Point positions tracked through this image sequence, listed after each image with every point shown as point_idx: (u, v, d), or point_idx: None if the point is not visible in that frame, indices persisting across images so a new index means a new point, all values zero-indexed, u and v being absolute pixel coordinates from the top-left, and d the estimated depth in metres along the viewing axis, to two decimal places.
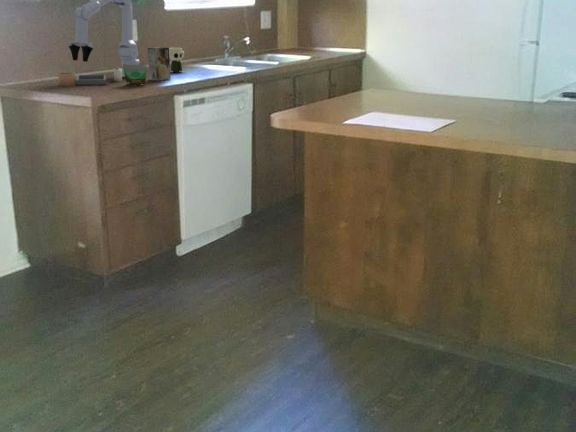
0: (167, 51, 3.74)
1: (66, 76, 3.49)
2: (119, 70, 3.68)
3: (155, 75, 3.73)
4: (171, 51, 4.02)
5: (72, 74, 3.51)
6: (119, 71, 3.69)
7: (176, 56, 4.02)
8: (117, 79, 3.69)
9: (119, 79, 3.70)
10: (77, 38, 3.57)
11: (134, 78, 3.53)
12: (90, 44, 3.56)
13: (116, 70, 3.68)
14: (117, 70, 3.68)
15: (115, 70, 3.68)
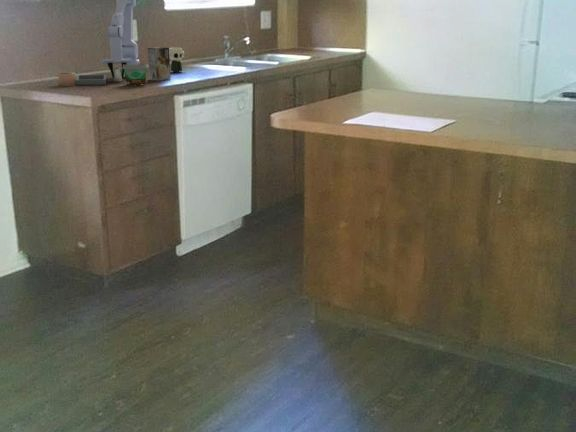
0: (167, 51, 3.74)
1: (66, 76, 3.49)
2: (119, 70, 3.68)
3: (155, 75, 3.73)
4: (171, 51, 4.02)
5: (72, 74, 3.51)
6: (119, 71, 3.69)
7: (176, 56, 4.02)
8: (117, 79, 3.69)
9: (119, 79, 3.70)
10: (117, 57, 3.65)
11: (134, 78, 3.53)
12: (131, 61, 3.70)
13: (116, 70, 3.68)
14: (117, 70, 3.68)
15: (115, 70, 3.68)
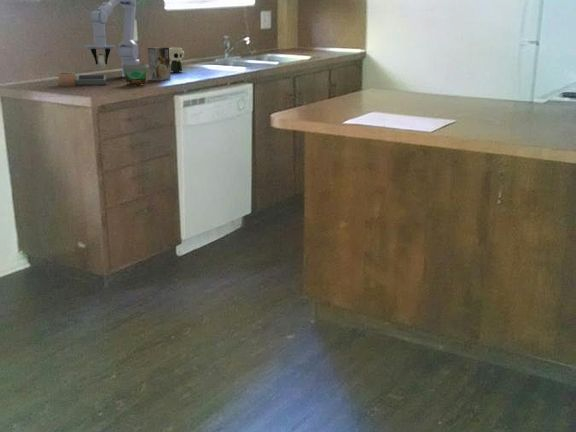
0: (167, 51, 3.74)
1: (66, 76, 3.49)
2: (103, 56, 3.63)
3: (155, 75, 3.73)
4: (171, 51, 4.02)
5: (72, 74, 3.51)
6: (103, 57, 3.63)
7: (176, 56, 4.02)
8: (101, 65, 3.64)
9: (103, 65, 3.64)
10: (101, 42, 3.60)
11: (134, 78, 3.53)
12: None
13: (99, 56, 3.63)
14: (101, 56, 3.63)
15: (98, 56, 3.63)
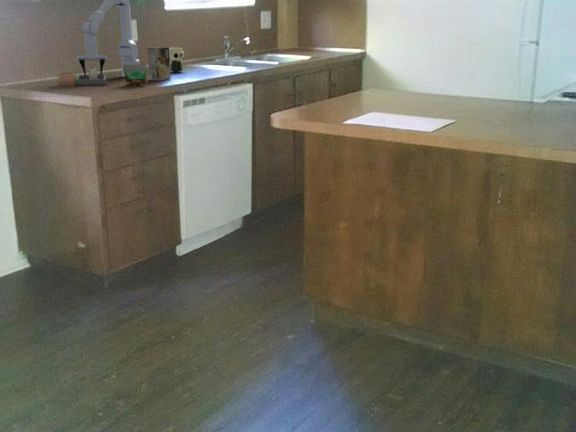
0: (167, 51, 3.74)
1: (66, 76, 3.49)
2: (94, 70, 3.64)
3: (155, 75, 3.73)
4: (171, 51, 4.02)
5: (72, 74, 3.51)
6: (94, 71, 3.64)
7: (176, 56, 4.02)
8: (93, 79, 3.65)
9: (94, 79, 3.65)
10: (92, 53, 3.60)
11: (134, 78, 3.53)
12: (106, 57, 3.65)
13: (91, 70, 3.63)
14: (92, 70, 3.63)
15: (90, 70, 3.63)
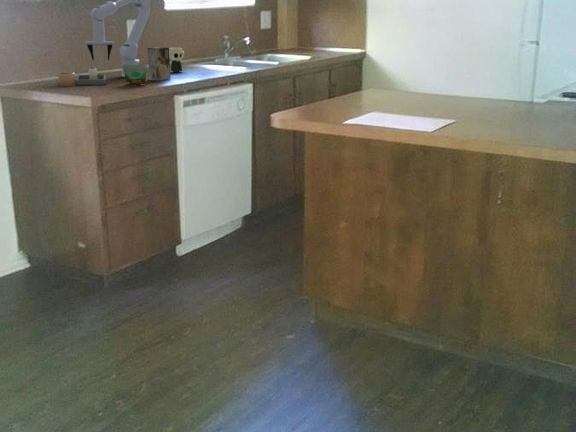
0: (167, 51, 3.74)
1: (66, 76, 3.49)
2: (94, 70, 3.64)
3: (155, 75, 3.73)
4: (171, 51, 4.02)
5: (72, 74, 3.51)
6: (94, 71, 3.64)
7: (176, 56, 4.02)
8: (93, 79, 3.65)
9: (94, 79, 3.65)
10: (100, 39, 3.71)
11: (134, 78, 3.53)
12: None
13: (91, 70, 3.63)
14: (92, 70, 3.63)
15: (90, 70, 3.63)
